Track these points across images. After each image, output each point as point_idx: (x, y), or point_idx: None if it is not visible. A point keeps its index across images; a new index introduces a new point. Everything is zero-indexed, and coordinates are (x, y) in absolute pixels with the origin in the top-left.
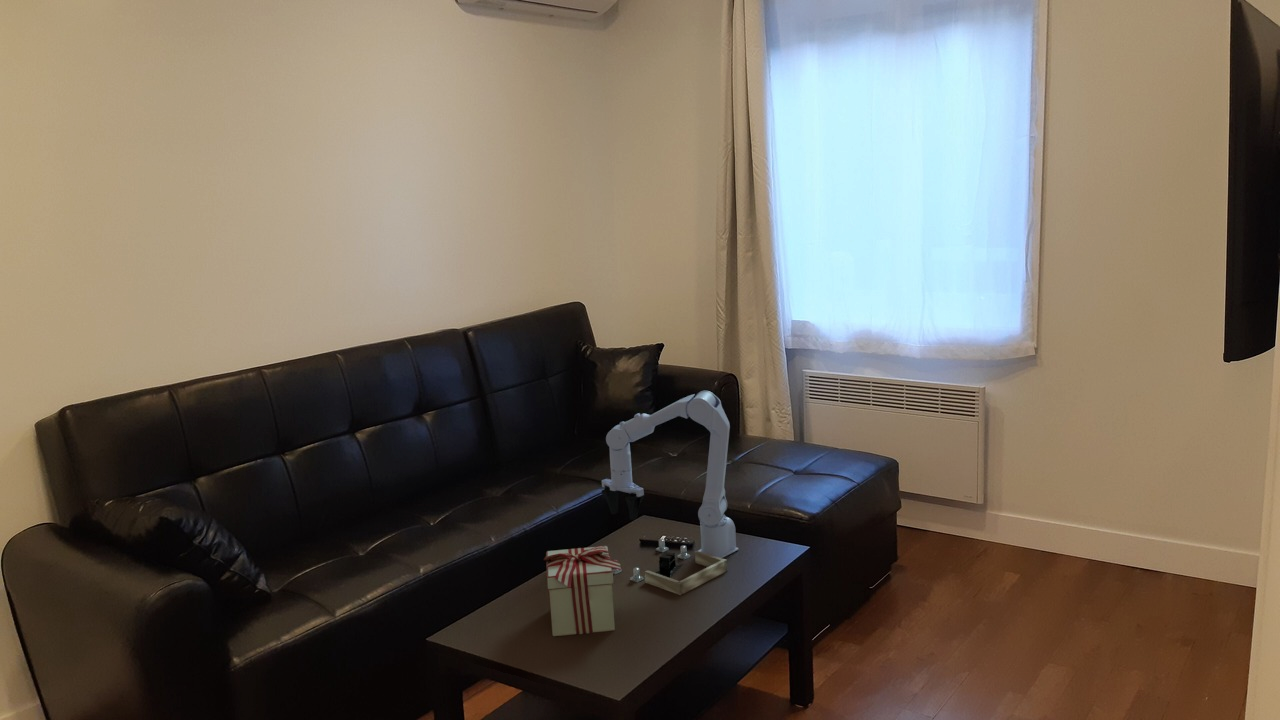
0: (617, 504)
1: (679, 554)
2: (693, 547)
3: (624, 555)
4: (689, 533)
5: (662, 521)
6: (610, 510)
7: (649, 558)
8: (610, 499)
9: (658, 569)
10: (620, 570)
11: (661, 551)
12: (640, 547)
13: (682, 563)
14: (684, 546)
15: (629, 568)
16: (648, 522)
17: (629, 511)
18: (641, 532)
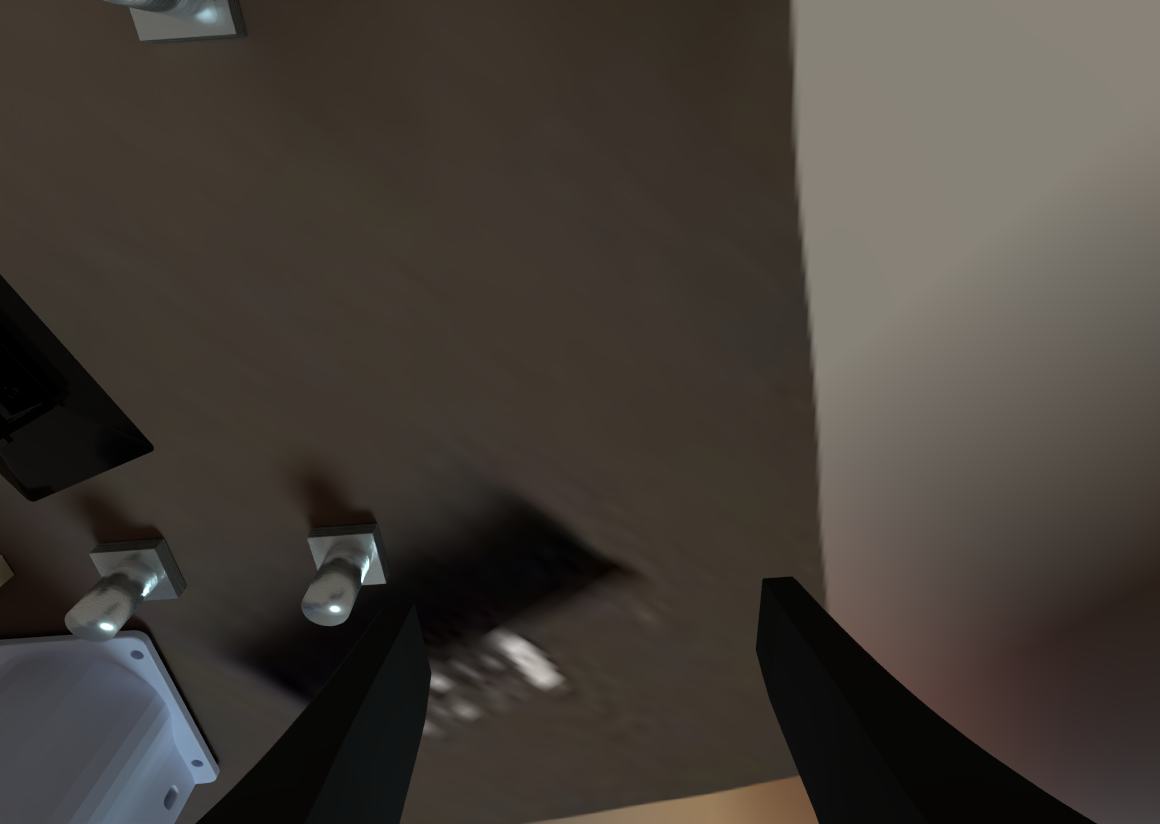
0: (799, 755)
1: (160, 565)
2: (259, 679)
3: (473, 320)
4: (462, 768)
5: (724, 780)
6: (813, 609)
7: (279, 409)
8: (880, 794)
9: (2, 308)
10: (140, 24)
11: (319, 531)
12: (510, 492)
13: (40, 498)
14: (88, 630)
15: (185, 155)
16: None
17: (352, 703)
18: (709, 638)
